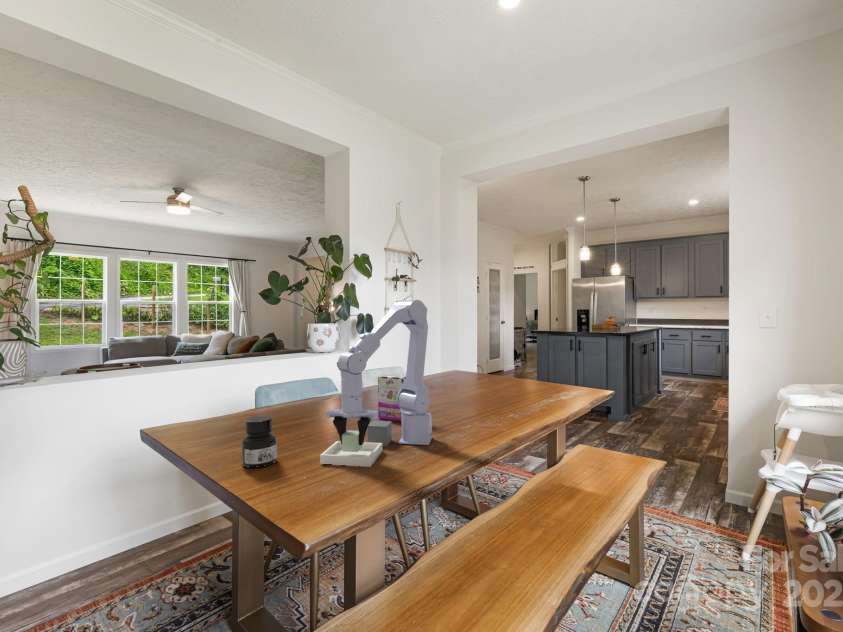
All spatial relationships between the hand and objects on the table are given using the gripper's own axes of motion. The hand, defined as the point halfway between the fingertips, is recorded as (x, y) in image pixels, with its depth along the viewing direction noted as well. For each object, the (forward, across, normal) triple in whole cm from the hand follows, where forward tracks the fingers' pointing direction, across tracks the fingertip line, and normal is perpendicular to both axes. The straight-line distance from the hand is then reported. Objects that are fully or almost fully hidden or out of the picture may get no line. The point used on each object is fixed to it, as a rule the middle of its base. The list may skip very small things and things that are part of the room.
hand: (352, 443), depth 115 cm
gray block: (+4, +4, +14) cm, 15 cm away
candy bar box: (+4, +2, +41) cm, 41 cm away
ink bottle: (+4, -24, -7) cm, 25 cm away
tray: (+4, 0, 0) cm, 4 cm away
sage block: (+2, 0, 0) cm, 2 cm away
